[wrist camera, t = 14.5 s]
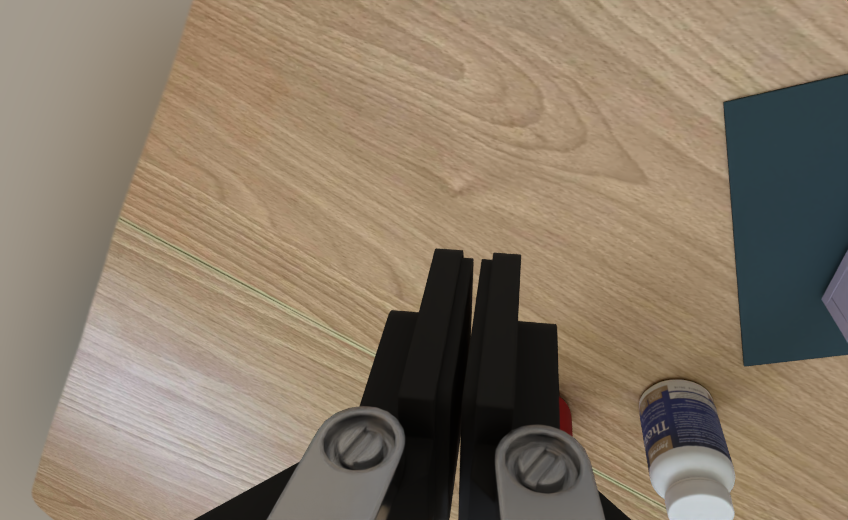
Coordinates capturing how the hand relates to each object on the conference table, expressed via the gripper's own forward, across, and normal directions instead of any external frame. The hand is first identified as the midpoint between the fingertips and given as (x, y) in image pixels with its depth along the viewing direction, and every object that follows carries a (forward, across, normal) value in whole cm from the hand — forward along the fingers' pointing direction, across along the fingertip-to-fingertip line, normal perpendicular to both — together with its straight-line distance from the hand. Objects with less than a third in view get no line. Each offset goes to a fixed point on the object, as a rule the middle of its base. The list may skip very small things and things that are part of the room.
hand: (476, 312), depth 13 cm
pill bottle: (+27, -14, +28) cm, 41 cm away
